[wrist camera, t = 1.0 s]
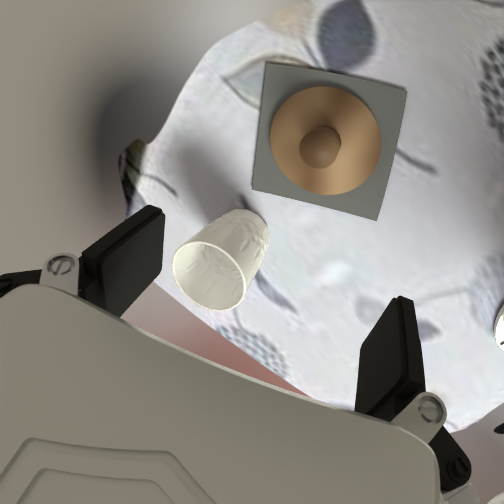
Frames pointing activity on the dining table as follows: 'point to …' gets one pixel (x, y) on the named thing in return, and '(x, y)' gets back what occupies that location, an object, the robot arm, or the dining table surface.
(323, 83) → the mat
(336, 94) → the lid
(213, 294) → the white cup
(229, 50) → the dining table surface
